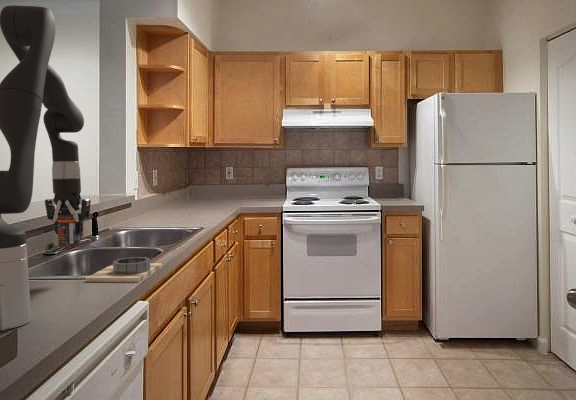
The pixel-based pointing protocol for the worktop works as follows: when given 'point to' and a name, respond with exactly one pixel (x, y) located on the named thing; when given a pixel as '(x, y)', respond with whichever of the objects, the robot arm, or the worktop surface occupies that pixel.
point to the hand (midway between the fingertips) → (69, 234)
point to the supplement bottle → (67, 230)
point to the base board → (121, 275)
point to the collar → (131, 265)
